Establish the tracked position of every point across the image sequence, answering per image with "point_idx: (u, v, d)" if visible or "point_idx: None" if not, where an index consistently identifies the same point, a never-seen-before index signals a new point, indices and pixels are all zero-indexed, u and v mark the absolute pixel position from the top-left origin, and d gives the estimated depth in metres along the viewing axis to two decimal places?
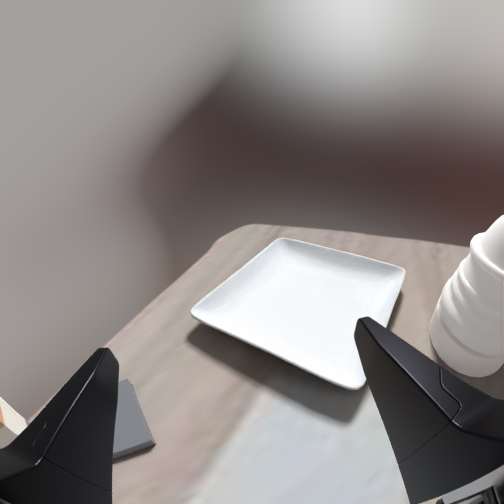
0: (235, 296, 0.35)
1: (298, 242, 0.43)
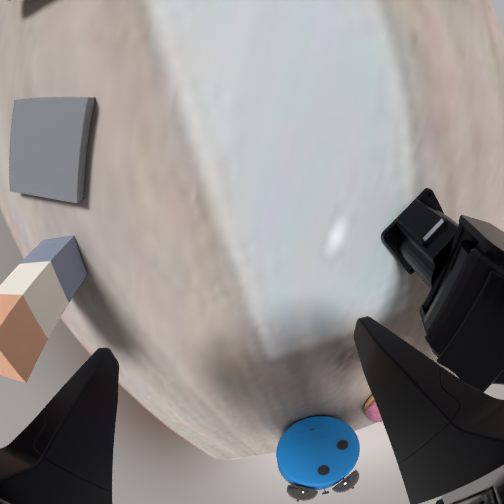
0: None
1: None
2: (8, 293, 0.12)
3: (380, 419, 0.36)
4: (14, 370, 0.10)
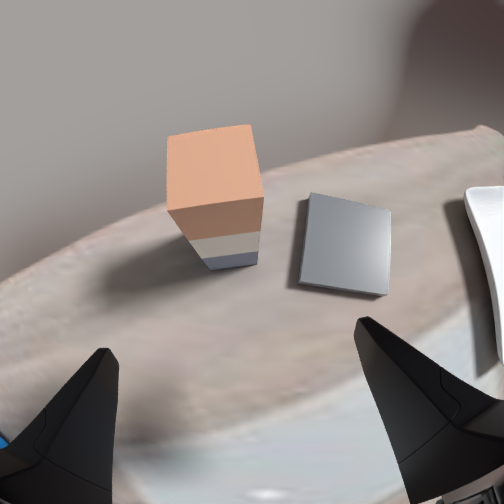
0: (488, 204, 0.24)
1: None
2: None
3: None
4: (195, 202, 0.11)
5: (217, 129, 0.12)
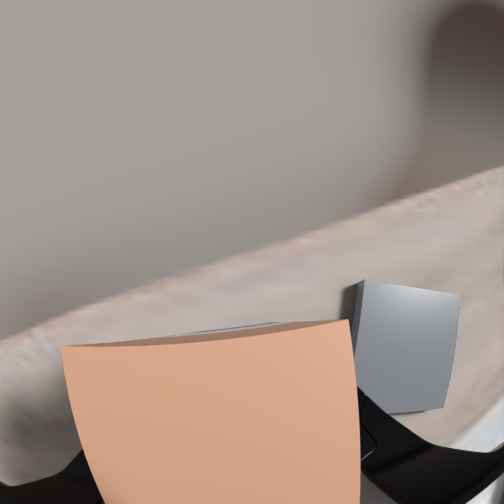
0: None
1: None
2: None
3: None
4: None
5: (221, 348, 0.03)
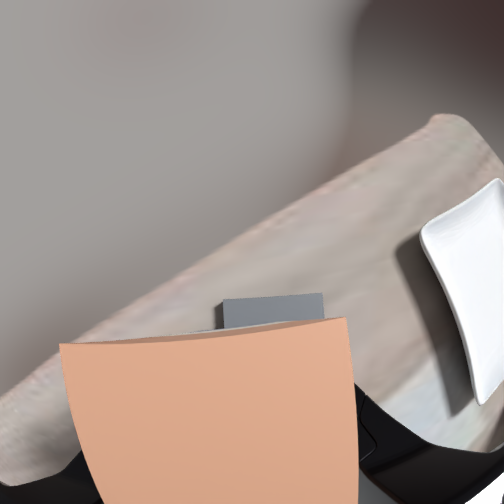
0: (453, 227, 0.23)
1: None
2: None
3: None
4: None
5: (218, 345, 0.03)
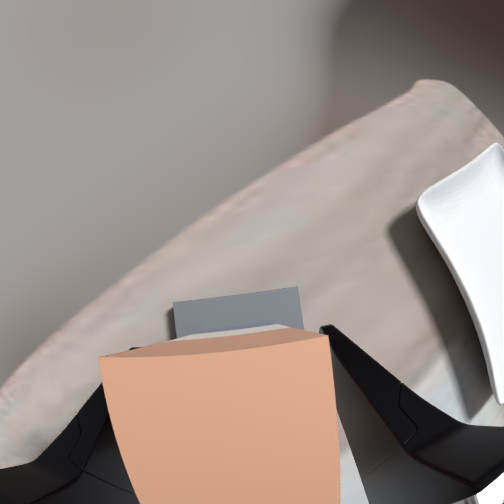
0: (455, 198, 0.19)
1: None
2: None
3: None
4: None
5: (231, 357, 0.04)
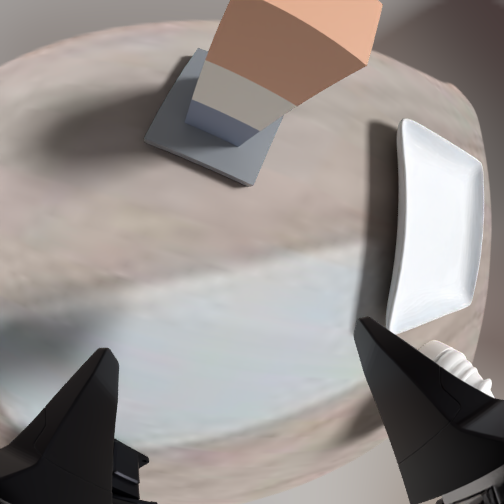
0: (428, 151, 0.24)
1: (482, 187, 0.27)
2: None
3: None
4: (281, 5, 0.04)
5: None
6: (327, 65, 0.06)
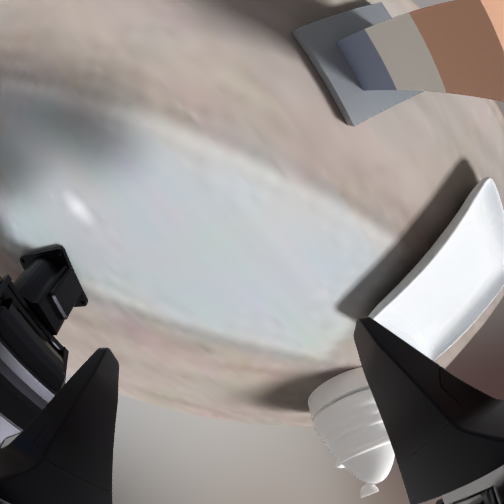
0: (487, 218, 0.22)
1: (503, 283, 0.26)
2: None
3: None
4: (496, 29, 0.03)
5: None
6: (494, 84, 0.05)
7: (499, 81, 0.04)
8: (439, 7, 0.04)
